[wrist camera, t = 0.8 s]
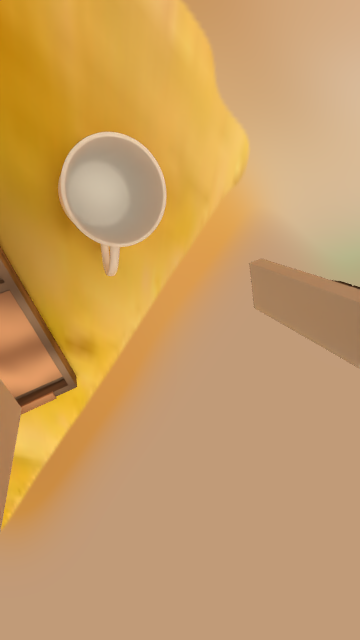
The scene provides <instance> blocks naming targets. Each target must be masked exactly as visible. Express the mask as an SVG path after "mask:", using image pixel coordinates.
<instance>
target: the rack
mask: <svg viewBox="0 0 360 640" xmlns="http://www.w3.org/2000/svg"><path fill="white" fill-rule="evenodd" d="M0 379H1V380H2V382H3V383H4V385H5V386H6V387H7V389H8V390H9V391H10V393H11V394H12V396H13V397H14V398H15V400H16V401H17V402H18V404H19V405H20V406H21V408H22V409H21V414H23V413H26V412H28V411H30V410H32V409H34V408H37V407H39V406H41V405H43V404H45V403H47V402H50V401H52V400H54V399H56V396H58V395H60V394H63V393H65V392H67V391H69V390H71V389H74V388H76V387H77V382H76V375H75V374H74V372H73V370H72V368H71V367H70V365H69V363H68V362H67V360H66V358H65V356H64V355H63V353H62V351H61V350H60V348H59V346H58V344H57V343H56V341H55V339H54V338H53V336H52V334H51V333H50V331H49V329H48V327H47V326H46V324H45V322H44V321H43V319H42V317H41V315H40V314H39V312H38V310H37V309H36V307H35V305H34V303H33V302H32V300H31V298H30V297H29V295H28V293H27V291H26V290H25V288H24V286H23V285H22V283H21V281H20V280H19V278H18V276H17V274H16V273H15V271H14V269H13V268H12V266H11V264H10V262H9V261H8V259H7V257H6V256H5V254H4V252H3V250H2V249H1V247H0Z"/></svg>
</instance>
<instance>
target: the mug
mask: <svg viewBox="0 0 360 640" xmlns="http://www.w3.org/2000/svg"><path fill="white" fill-rule="evenodd" d="M58 194H59V199H60V203H61V205H62V208H63V210H64V212H65V213H66V215H67V216H68V218H69V219H70V220H71V221H72V222H73V223H74V224H75V225H76V227H77V228H78V229H79V230H80V231H81V232H82V233H84V234H85V235H86V236H87V237H89V238H90V239H92V240H94V241H96V242H98V243H100V244H101V252H102V260H103V266H104V270H105V273H106V275H108V276H114V275H115V274H116V272H117V269H118V263H119V251H120V247H126V246H131V245H134V244H137V243H139V242H141V241H143V240H144V239H146V238H147V237H148V236H149V235H150V234H152V232H153V231H154V230H155V229H156V228H157V226H158V225H159V223H160V221H161V219H162V216H163V214H164V210H165V206H166V185H165V180H164V176H163V173H162V171H161V168H160V166H159V164H158V163H157V161H156V159H155V158H154V156H153V155H152V154H151V153H150V151H149V150H148V149H147V148H146V147H145V146H143V145H142V144H141V143H140V142H138V141H137V140H135V139H133V138H131V137H129V136H127V135H124V134H121V133H116V132H100V133H96V134H92V135H90V136H88V137H86V138H84V139H82V140H81V141H80V142H78V143H77V144H76V145H75V146H74V147H73V148H72V150H71V151H70V152H69V154H68V156H67V158H66V160H65V162H64V164H63V168H62V172H61V174H60V178H59V183H58ZM108 246H109V247H110V257H109V247H108Z"/></svg>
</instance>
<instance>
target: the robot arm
mask: <svg viewBox="0 0 360 640" xmlns="http://www.w3.org/2000/svg"><path fill="white" fill-rule="evenodd" d="M249 265H250V274H251V282H252V292H253V301H254V308H255V309H257V310H259V311H261V312H262V313H264V314H266V315H267V316H269V317H271V318H273V319H275V320H276V321H278V322H280V323H281V324H283V325H285V326H287V327H288V328H290V329H292V330H294V331H295V332H297V333H299V334H300V335H302V336H304V337H306V338H307V339H309V340H311V341H313V342H314V343H316V344H318V345H320V346H321V347H323V348H325V349H326V350H328V351H330V352H332V353H333V354H335V355H337V356H339V357H340V358H342V359H344V360H346V361H347V362H349V363H351V364H352V365H354V366H356V367H358V368H360V287H357V286H352V285H351V284H348V283H345V282H341V281H333V280H328V279H325V278H322V277H318V276H316V275H312V274H309V273H306V272H302V271H300V270H296V269H293V268H290V267H287V266H284V265H280V264H277V263H274V262H271V261H268V260H264V259H259V260H256V261H254V262H251V263H249ZM21 409H22V408H21V406H20V405H19V404H18V402H17V401H16V400H15V398H14V397H13V396H12V394H11V393H10V391H9V390H8V389H7V387H6V386H5V385H4V383H3V382H2V380H1V379H0V531H1V525H2V519H3V513H4V507H5V502H6V496H7V490H8V484H9V479H10V473H11V467H12V461H13V455H14V450H15V444H16V438H17V432H18V427H19V421H20V415H21Z"/></svg>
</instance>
